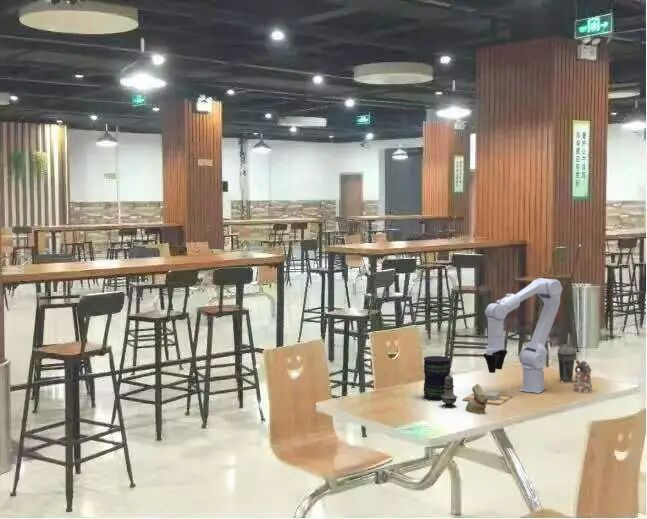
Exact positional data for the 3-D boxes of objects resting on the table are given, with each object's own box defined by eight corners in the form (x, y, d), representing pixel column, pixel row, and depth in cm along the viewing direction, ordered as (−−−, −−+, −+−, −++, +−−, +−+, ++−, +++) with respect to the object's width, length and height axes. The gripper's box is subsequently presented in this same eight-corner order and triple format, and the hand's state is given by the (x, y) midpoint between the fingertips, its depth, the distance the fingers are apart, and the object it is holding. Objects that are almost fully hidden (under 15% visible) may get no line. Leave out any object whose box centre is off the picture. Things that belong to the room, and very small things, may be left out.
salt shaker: (444, 408, 292) (444, 375, 291) (438, 405, 297) (438, 372, 296) (460, 407, 293) (460, 374, 292) (453, 404, 299) (453, 371, 298)
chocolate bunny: (474, 414, 283) (474, 386, 283) (464, 409, 291) (464, 381, 290) (488, 413, 285) (489, 385, 284) (478, 408, 292) (478, 380, 292)
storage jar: (449, 401, 302) (449, 361, 302) (422, 400, 304) (422, 360, 304) (450, 395, 312) (451, 356, 311) (424, 394, 314) (424, 355, 313)
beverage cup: (553, 380, 339) (553, 332, 337) (568, 379, 341) (569, 331, 339) (563, 384, 332) (564, 334, 330) (578, 383, 334) (579, 334, 333)
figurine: (588, 394, 314) (588, 363, 313) (570, 391, 318) (570, 360, 318) (594, 390, 320) (595, 360, 319) (576, 388, 324) (577, 358, 323)
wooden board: (477, 392, 316) (477, 391, 316) (512, 397, 309) (512, 395, 309) (462, 400, 304) (462, 399, 304) (499, 405, 296) (499, 403, 296)
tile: (479, 390, 310) (473, 393, 305) (500, 392, 306) (494, 396, 301) (479, 395, 310) (473, 398, 305) (500, 397, 306) (494, 400, 301)
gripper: (492, 331, 320) (491, 366, 321) (478, 337, 308) (478, 373, 309) (509, 333, 316) (509, 368, 317) (497, 338, 304) (496, 375, 305)
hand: (495, 370), depth 313 cm, fingers open, 7 cm apart
